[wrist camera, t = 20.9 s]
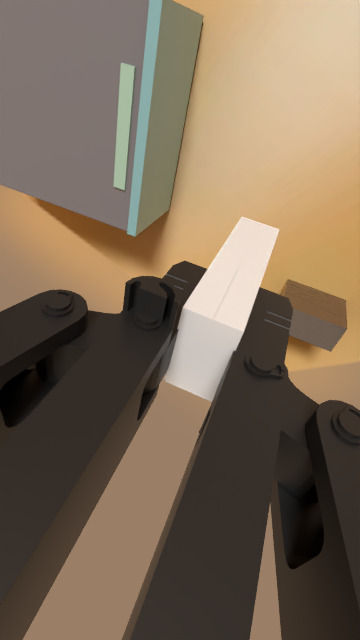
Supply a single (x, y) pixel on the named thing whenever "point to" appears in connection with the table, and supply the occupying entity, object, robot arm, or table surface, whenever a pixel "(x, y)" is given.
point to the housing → (72, 102)
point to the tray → (162, 108)
